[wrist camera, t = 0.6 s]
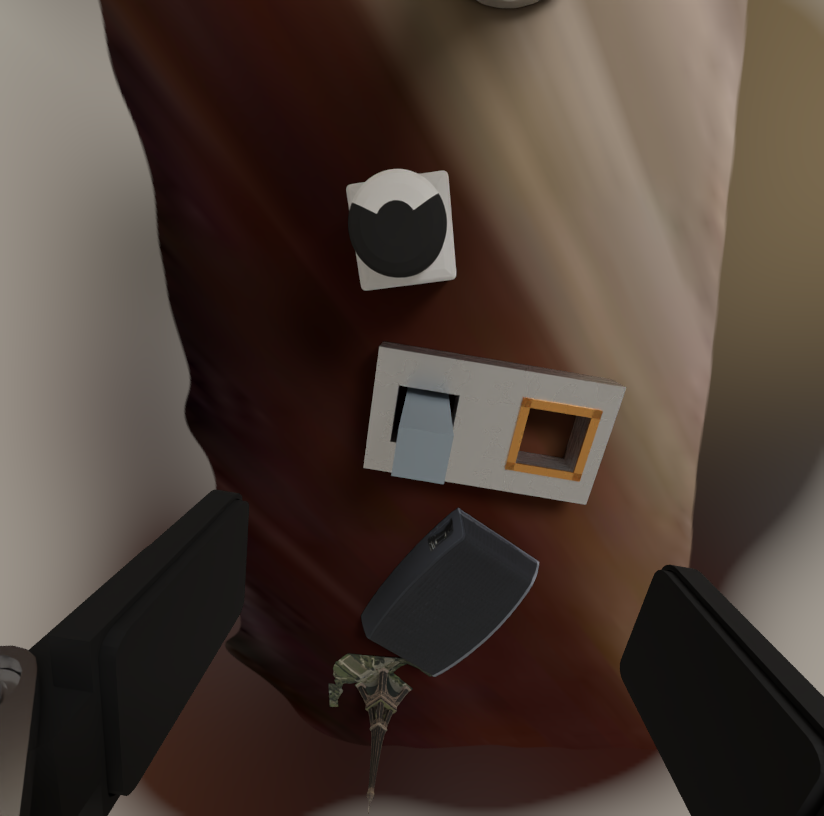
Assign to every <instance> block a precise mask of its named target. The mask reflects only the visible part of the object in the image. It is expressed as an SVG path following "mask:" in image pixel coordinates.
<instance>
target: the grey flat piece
mask: <svg viewBox="0 0 824 816" xmlns="http://www.w3.org/2000/svg"><path fill="white" fill-rule="evenodd" d="M400 386H405V387H411V388H418V389H424V390H430V391H436V392H442V393H448V394H454V395H456V398H455V403H454V408H453V413H452V425H453V433H454V438H453V443H452V447H451V452H450V457H449V462H448V467H447V471H446V476H445V481H446V482H452V483H458V484H464V485H470V486H476V487H482V488H488V489H494V490H500V491H506V492H512V493H518V494H524V495H530V496H536V497H542V498H549V499H555V500H561V501H567V502H573V503H579V504H585V505H586V503H587V500H588V497H589V494H590V491H591V489H592V486H593V483H594V480H595V477H596V474H597V471H598V468H599V465H600V462H601V460H602V457H603V454H604V451H605V448H606V445H607V442H608V439H609V436H610V433H611V431H612V428H613V425H614V422H615V419H616V416H617V413H618V410H619V407H620V404H621V402H622V399H623V396H624V393H625V390H626V387H625V386H623V385H621V384H619V383H617V382H616V381H614V380H612V379H607V378H601V377H595V376H589V375H583V374H577V373H571V372H565V371H559V370H553V369H547V368H541V367H535V366H529V365H523V364H517V363H511V362H505V361H499V360H493V359H487V358H481V357H475V356H469V355H463V354H457V353H451V352H445V351H439V350H433V349H427V348H421V347H415V346H409V345H402V344H396V343H390V342H384V341H383V342H382V344H381V345H380V346H379V352H378V360H377V368H376V375H375V383H374V391H373V398H372V406H371V413H370V421H369V429H368V436H367V444H366V452H365V459H364V467H363V468H367V469H373V470H379V471H386V472H392V467H393V461H394V455H395V448H396V442H397V436H398V431H396V430H393V428H394V422H395V415H396V409H397V402H398V396H399V389H400ZM530 408H534V409H540V410H546V411H552V412H558V413H565V414H571V415H576V418H575V422H574V425H573V428H572V431H571V435H570V438H569V441H568V444H567V447H566V451H565V454H564V457H563V458H558V457H552V456H546V455H540V454H534V453H528V452H522V451H519V448H520V444H521V440H522V436H523V433H524V429H525V425H526V422H527V418H528V414H529V410H530Z"/></svg>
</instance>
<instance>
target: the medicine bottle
mask: <svg viewBox="0 0 824 816" xmlns="http://www.w3.org/2000/svg"><path fill="white" fill-rule="evenodd" d="M346 193H347V199H348V206H349V216H348V229H349V235H350V240H351V243H352V245H353V248H354V250H355V252H356V258H357V264H358V271H359V277H360V284H361V288H362V289H363V290H366V291H368V290H375V289H383V288H391V287H399V286H407V285H415V284H423V283H431V282H439V281H447V280H453V279H454V278H455V277H456V263H455V251H454V238H453V226H452V214H451V202H450V189H449V177H448V173H447V172H446V171H443V170H442V171H435V172H428V173H422V174H417V173H415V172H412V171H409V170H405V169H390V170H386V171H382V172H380V173H377V174H375V175H374V176H372V177H371V178H369V179H368V180H367V181H366V182H362V183H355V184H350V185H348V186H347V188H346Z"/></svg>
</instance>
